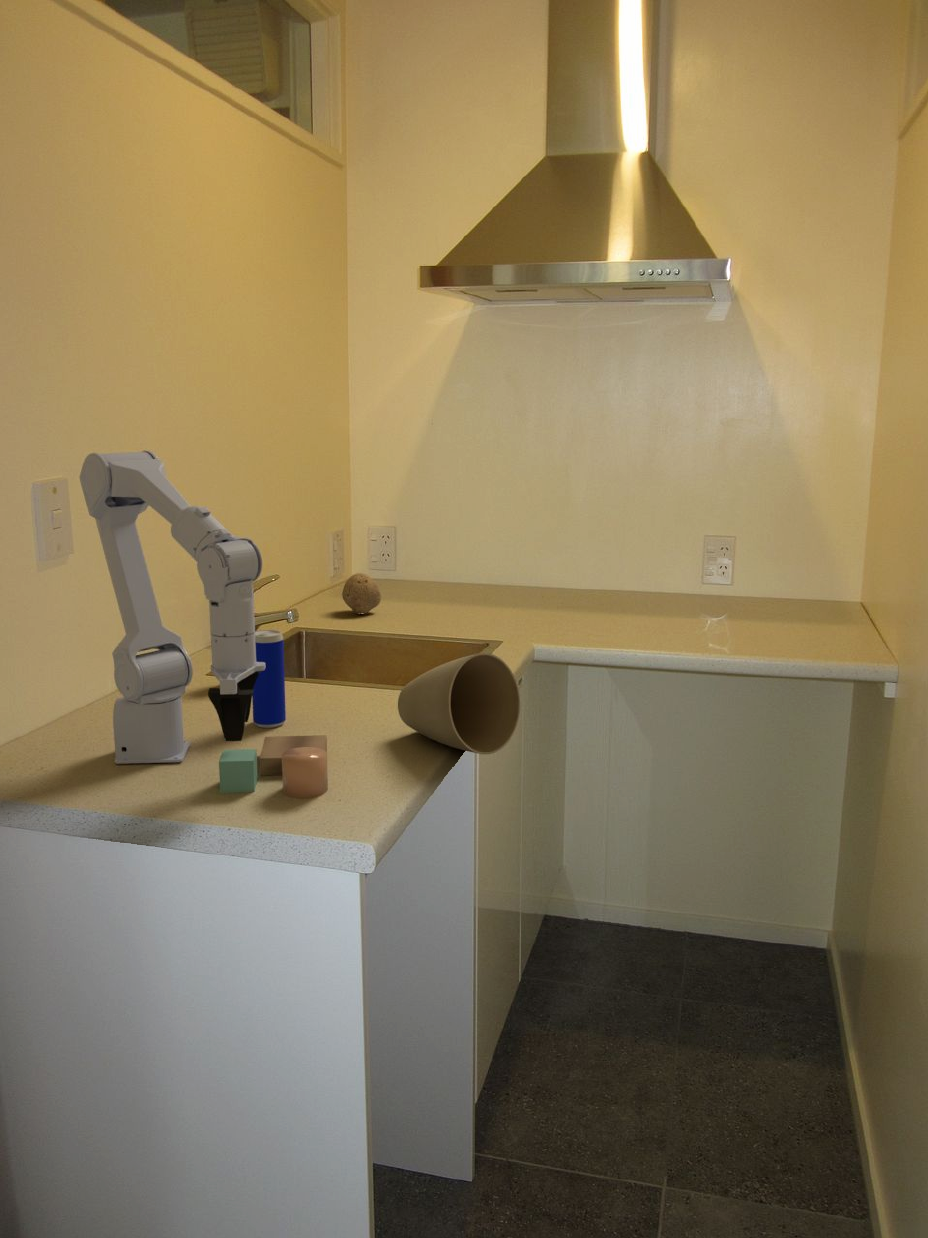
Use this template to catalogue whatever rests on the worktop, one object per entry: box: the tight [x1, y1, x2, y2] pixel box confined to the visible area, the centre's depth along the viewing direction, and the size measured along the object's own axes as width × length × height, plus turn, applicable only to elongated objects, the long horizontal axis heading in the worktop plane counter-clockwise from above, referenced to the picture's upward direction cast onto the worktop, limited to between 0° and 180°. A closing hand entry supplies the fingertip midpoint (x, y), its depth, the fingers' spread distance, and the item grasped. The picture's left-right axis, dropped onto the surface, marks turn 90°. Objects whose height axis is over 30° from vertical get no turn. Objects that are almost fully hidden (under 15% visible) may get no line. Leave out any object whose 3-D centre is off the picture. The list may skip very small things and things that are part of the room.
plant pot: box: [397, 652, 521, 755], centre depth 154 cm, size 15×15×16 cm
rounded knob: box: [281, 747, 329, 799], centre depth 136 cm, size 6×6×5 cm
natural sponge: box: [341, 572, 382, 614], centre depth 241 cm, size 9×9×10 cm
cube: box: [218, 748, 259, 794], centre depth 137 cm, size 4×4×4 cm
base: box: [259, 734, 328, 776], centre depth 145 cm, size 9×9×2 cm
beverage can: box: [251, 629, 287, 729], centre depth 161 cm, size 5×5×15 cm
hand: (237, 730), depth 135 cm, fingers open, 7 cm apart
